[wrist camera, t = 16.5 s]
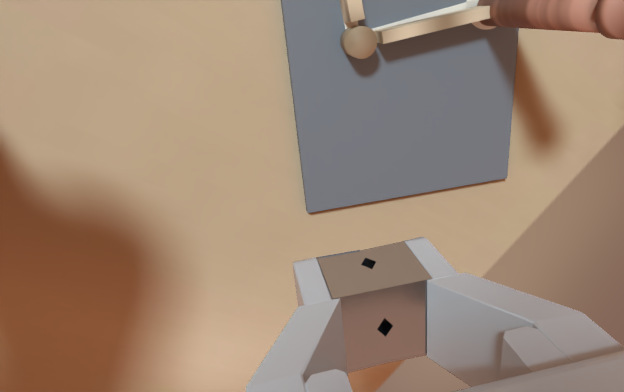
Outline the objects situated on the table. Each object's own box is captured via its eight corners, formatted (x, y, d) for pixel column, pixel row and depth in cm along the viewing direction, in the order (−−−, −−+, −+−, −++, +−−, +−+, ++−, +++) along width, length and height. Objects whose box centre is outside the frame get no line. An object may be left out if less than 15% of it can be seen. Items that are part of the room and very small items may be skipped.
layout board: (306, 209, 46) (307, 213, 45) (265, -127, 34) (266, -131, 33) (502, 175, 49) (507, 178, 48) (526, -147, 37) (533, -151, 36)
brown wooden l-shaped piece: (377, 57, 40) (460, 82, 26) (371, 15, 39) (456, 18, 25) (510, 24, 41) (658, 32, 27) (509, -18, 40) (666, -33, 26)
